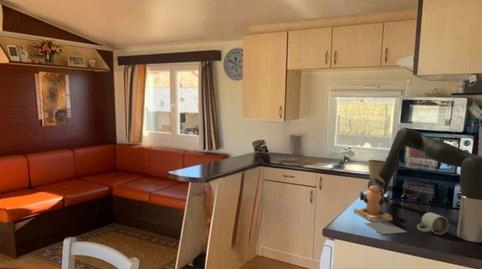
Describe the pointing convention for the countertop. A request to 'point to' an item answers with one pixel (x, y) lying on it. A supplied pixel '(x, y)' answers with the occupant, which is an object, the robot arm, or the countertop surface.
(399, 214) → the countertop surface
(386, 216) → the holder
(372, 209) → the peach capped cylinder
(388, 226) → the mat
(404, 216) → the countertop surface
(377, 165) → the plant pot
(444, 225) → the ceramic mug
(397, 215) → the countertop surface
